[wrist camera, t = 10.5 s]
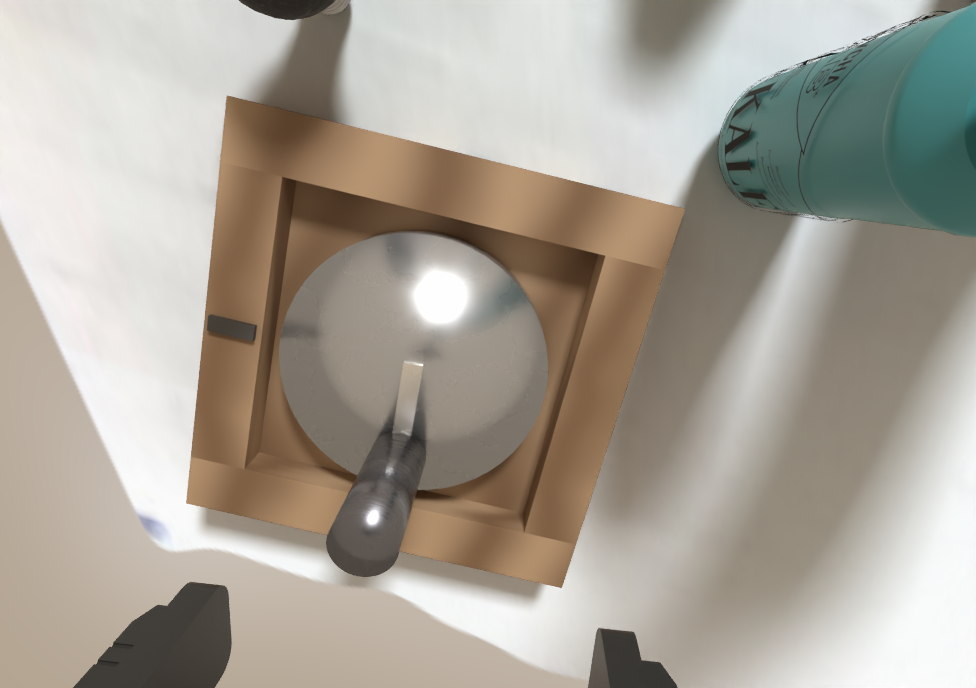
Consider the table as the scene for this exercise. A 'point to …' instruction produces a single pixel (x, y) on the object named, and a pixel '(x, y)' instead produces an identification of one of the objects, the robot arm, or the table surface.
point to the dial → (409, 377)
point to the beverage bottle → (866, 131)
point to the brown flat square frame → (440, 208)
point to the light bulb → (296, 7)
